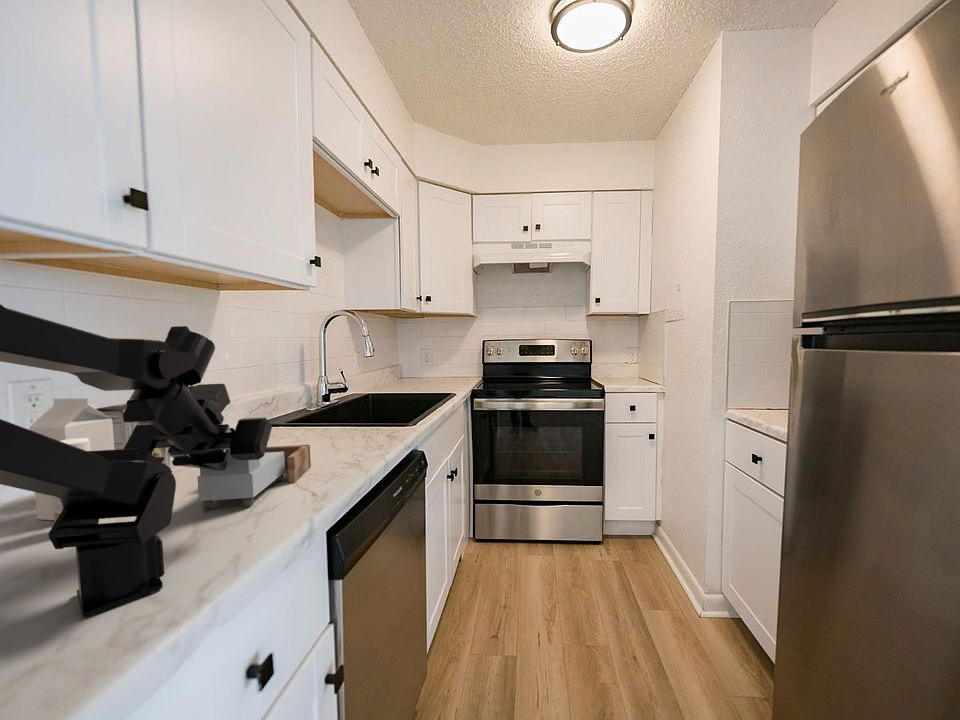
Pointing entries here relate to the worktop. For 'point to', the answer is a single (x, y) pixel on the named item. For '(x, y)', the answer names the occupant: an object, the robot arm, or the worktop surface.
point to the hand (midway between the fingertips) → (223, 467)
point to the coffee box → (127, 430)
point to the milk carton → (72, 434)
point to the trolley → (240, 479)
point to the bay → (294, 459)
